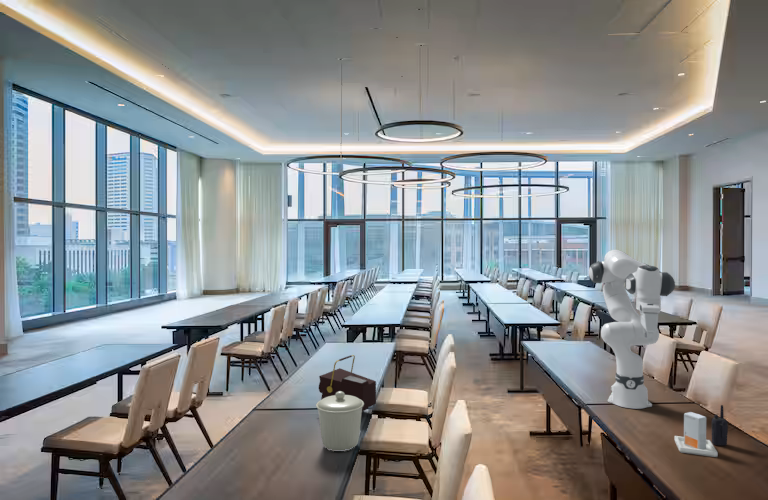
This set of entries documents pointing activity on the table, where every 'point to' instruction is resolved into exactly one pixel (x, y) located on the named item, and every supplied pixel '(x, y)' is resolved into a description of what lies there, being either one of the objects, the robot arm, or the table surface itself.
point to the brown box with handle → (348, 385)
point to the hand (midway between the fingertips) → (648, 339)
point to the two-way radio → (719, 429)
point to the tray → (686, 449)
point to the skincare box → (695, 430)
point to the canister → (340, 420)
